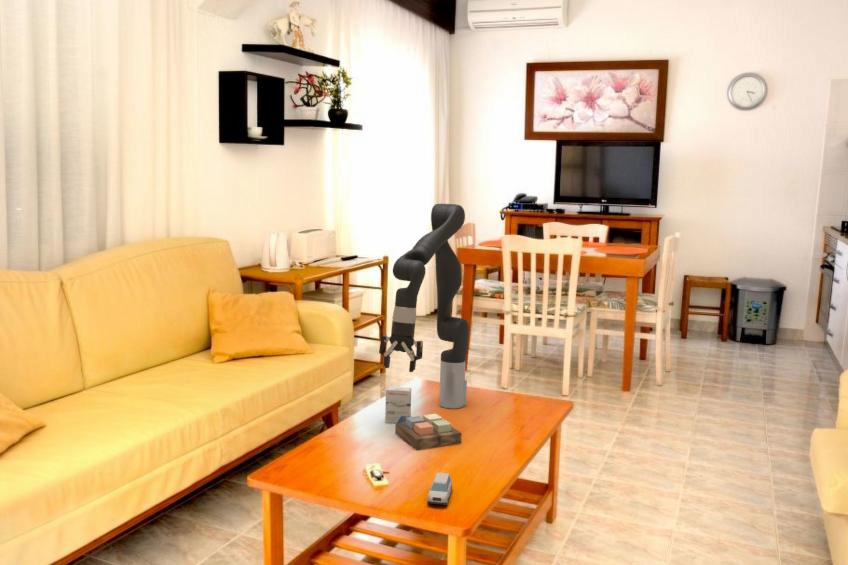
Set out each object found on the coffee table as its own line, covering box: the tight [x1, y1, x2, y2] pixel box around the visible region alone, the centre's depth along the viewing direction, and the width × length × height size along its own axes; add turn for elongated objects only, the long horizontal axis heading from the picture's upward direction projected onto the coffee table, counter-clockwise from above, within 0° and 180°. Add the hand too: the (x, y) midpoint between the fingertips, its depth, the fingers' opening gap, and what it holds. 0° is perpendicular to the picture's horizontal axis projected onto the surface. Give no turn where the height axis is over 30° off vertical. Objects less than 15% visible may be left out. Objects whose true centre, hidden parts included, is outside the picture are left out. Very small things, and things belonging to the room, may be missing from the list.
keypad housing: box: [394, 422, 463, 451], centre depth 246 cm, size 16×16×4 cm
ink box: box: [384, 386, 412, 424], centre depth 261 cm, size 8×5×12 cm, turn 84°
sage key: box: [432, 419, 452, 433], centre depth 244 cm, size 5×5×2 cm
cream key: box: [422, 413, 443, 425], centre depth 249 cm, size 5×5×2 cm
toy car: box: [426, 472, 453, 507], centre depth 202 cm, size 6×13×5 cm, turn 171°
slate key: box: [406, 415, 425, 429], centre depth 247 cm, size 5×5×2 cm
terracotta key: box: [414, 422, 434, 436], centre depth 241 cm, size 5×5×2 cm
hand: (398, 369), depth 246 cm, fingers open, 8 cm apart
